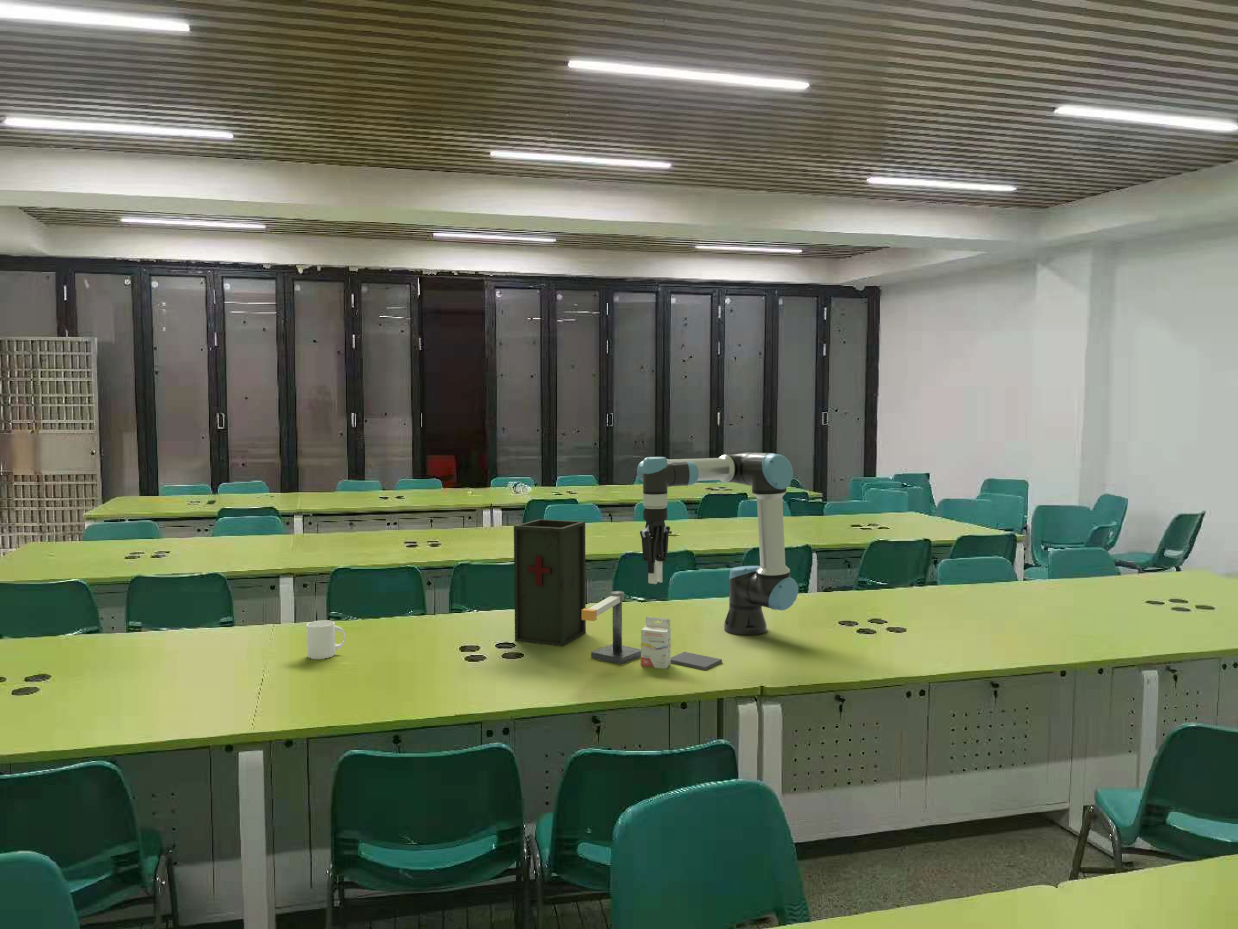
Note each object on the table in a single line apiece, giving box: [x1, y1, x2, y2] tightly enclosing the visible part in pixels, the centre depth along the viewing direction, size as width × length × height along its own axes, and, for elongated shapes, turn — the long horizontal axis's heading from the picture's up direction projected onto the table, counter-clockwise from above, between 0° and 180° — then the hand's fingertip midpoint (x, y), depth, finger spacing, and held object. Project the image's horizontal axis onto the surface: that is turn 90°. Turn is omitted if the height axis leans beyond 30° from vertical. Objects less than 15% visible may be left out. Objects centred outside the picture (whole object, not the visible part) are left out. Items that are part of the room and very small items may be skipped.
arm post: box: [590, 601, 641, 666], centre depth 277 cm, size 12×12×18 cm
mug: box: [305, 619, 346, 660], centre depth 279 cm, size 9×12×11 cm
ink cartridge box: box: [640, 616, 672, 670], centre depth 268 cm, size 9×5×15 cm, turn 71°
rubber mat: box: [670, 651, 723, 671], centre depth 271 cm, size 10×14×1 cm
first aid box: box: [513, 518, 587, 648], centre depth 300 cm, size 18×18×40 cm
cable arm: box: [582, 590, 625, 622], centre depth 265 cm, size 27×4×3 cm, turn 159°
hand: (655, 582), depth 266 cm, fingers open, 2 cm apart
